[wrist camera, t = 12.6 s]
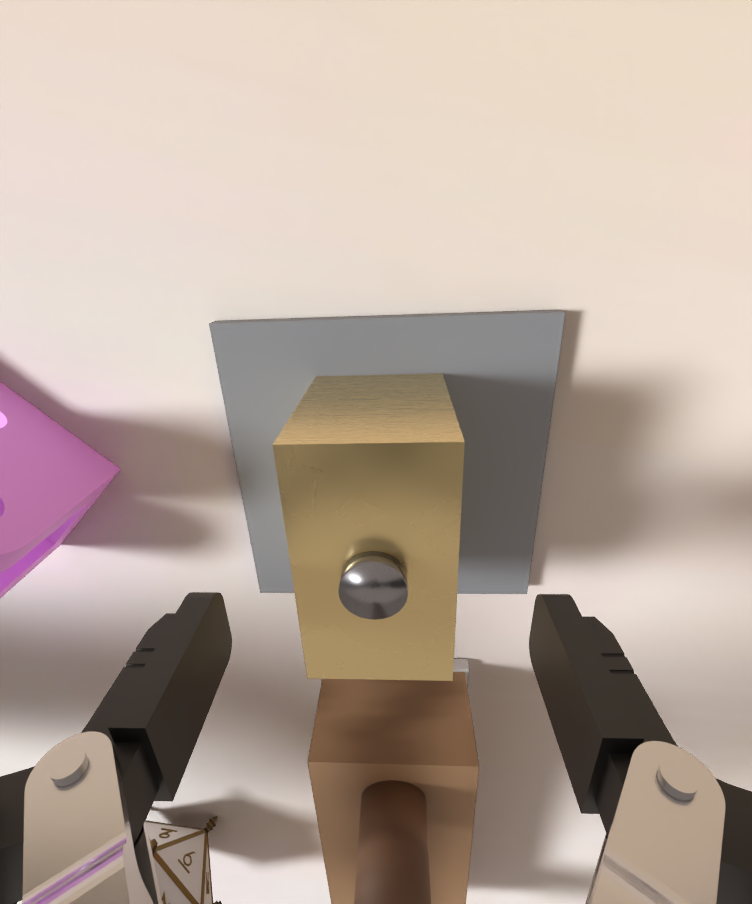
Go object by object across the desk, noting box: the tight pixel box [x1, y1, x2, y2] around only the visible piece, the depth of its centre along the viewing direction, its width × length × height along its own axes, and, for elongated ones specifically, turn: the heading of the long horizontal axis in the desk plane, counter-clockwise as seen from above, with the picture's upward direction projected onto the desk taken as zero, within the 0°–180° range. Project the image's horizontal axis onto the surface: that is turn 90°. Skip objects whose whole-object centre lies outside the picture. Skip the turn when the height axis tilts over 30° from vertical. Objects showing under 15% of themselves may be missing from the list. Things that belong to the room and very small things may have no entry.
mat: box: [209, 310, 565, 594], centre depth 18 cm, size 12×12×1 cm
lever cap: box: [273, 373, 465, 681], centre depth 15 cm, size 4×8×7 cm, turn 2°
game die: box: [145, 817, 222, 904], centre depth 27 cm, size 9×8×10 cm
